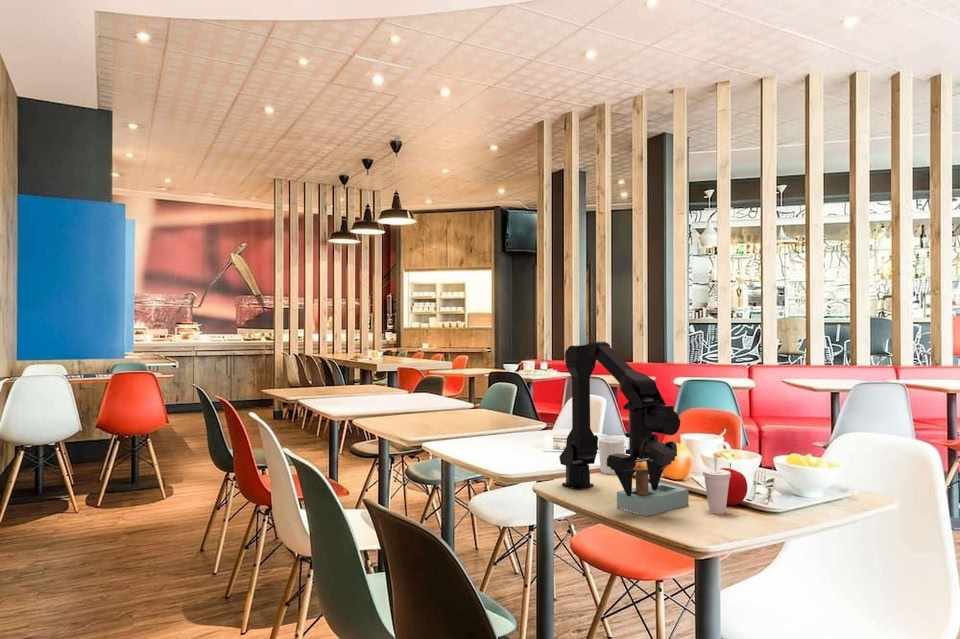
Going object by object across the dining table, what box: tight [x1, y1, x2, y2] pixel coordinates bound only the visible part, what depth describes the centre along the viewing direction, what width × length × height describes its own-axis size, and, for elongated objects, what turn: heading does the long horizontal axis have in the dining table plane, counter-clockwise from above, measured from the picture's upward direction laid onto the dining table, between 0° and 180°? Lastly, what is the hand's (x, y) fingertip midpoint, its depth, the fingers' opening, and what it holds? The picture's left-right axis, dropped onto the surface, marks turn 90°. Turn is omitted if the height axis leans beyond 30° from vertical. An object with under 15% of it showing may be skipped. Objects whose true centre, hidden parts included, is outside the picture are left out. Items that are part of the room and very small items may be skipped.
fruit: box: [719, 462, 748, 506], centre depth 158 cm, size 9×9×10 cm
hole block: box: [616, 481, 690, 517], centre depth 155 cm, size 9×16×4 cm, turn 124°
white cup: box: [598, 437, 626, 476], centre depth 193 cm, size 8×8×10 cm
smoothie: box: [702, 453, 731, 515], centre depth 151 cm, size 6×6×14 cm
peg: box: [635, 468, 649, 496], centre depth 153 cm, size 3×3×10 cm
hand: (641, 493), depth 153 cm, fingers open, 9 cm apart
